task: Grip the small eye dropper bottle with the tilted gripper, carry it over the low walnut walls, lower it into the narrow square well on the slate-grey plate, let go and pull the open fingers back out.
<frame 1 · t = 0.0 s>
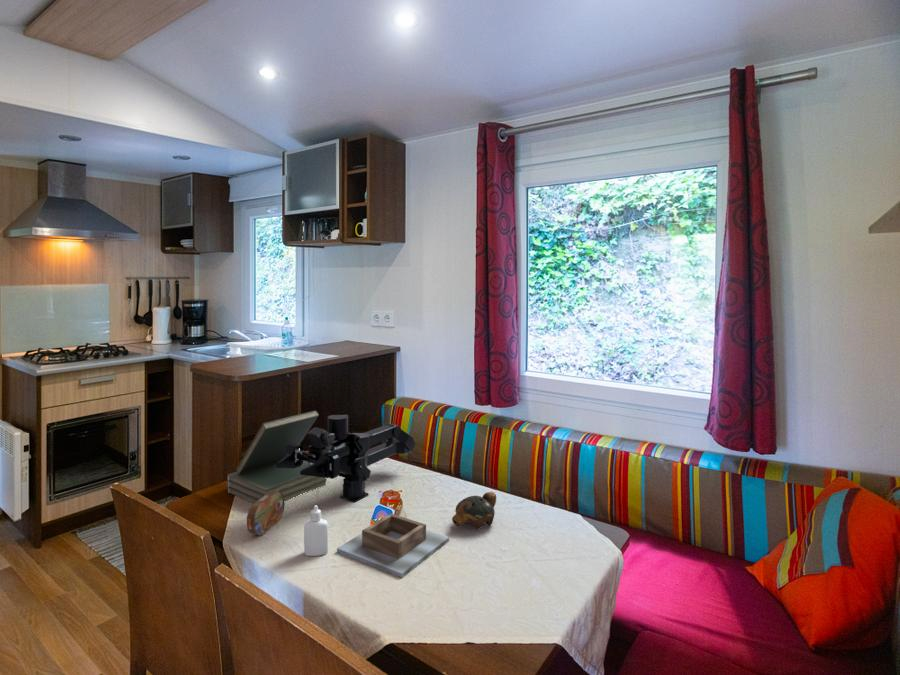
hand: (288, 469, 137), 17 cm above the table, tool horizontal, fingers open, 9 cm apart
decorative turtle: (475, 524, 143), on the table
tin: (266, 527, 140), on the table
eye dropper bottle: (316, 553, 127), on the table
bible: (278, 490, 165), on the table
well: (394, 546, 131), on the table
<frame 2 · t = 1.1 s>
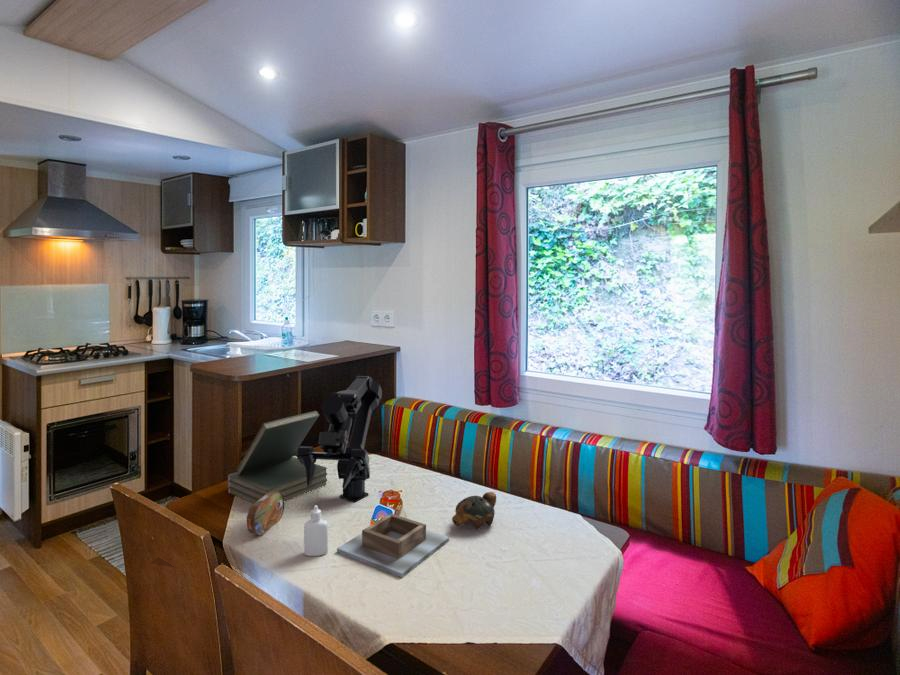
hand: (325, 487, 133), 14 cm above the table, tool tilted 45°, fingers open, 9 cm apart
nothing on the table moved.
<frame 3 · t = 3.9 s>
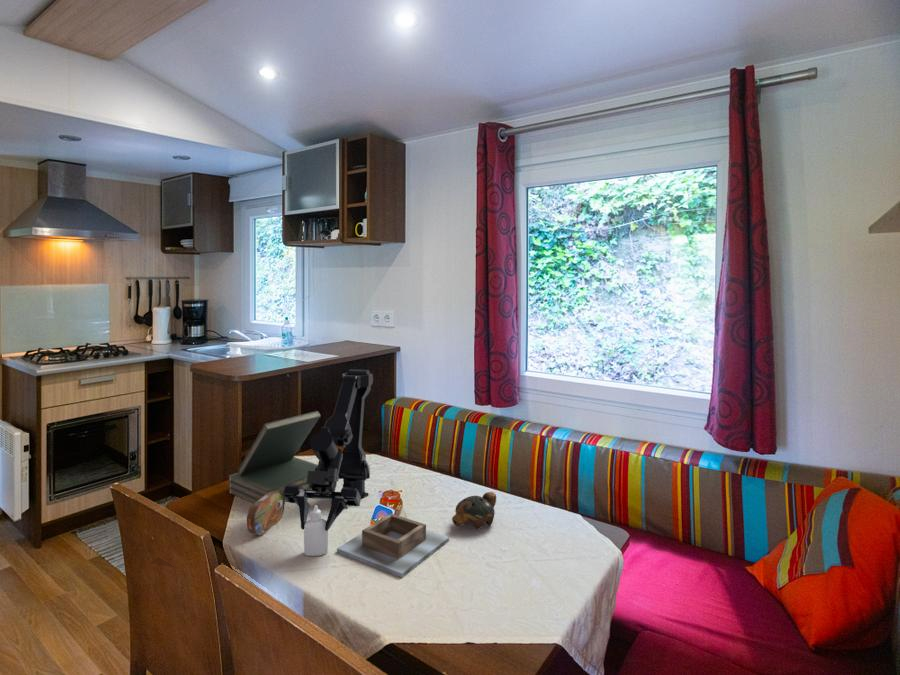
hand: (314, 529, 125), 7 cm above the table, tool tilted 45°, fingers closed on eye dropper bottle, 6 cm apart
eye dropper bottle: (316, 553, 127), on the table, touching gripper
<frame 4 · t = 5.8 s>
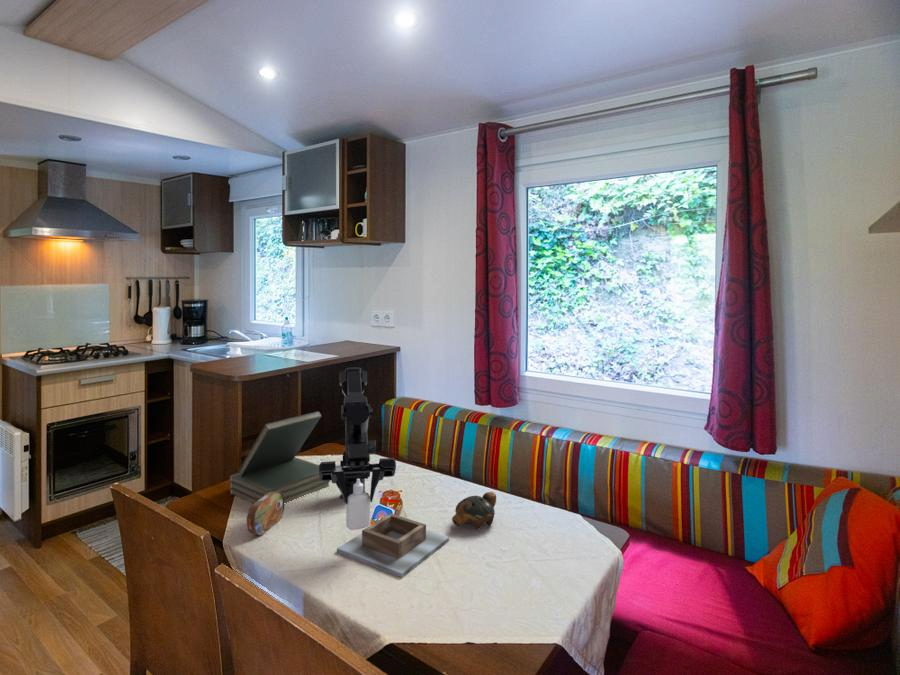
hand: (358, 502, 125), 13 cm above the table, tool tilted 45°, fingers closed on eye dropper bottle, 6 cm apart
eye dropper bottle: (358, 527, 127), point 6 cm above the table, touching gripper
when the fingers open (8 cm above the table, at t = 7.9 s): eye dropper bottle stays where it is, resting on well.
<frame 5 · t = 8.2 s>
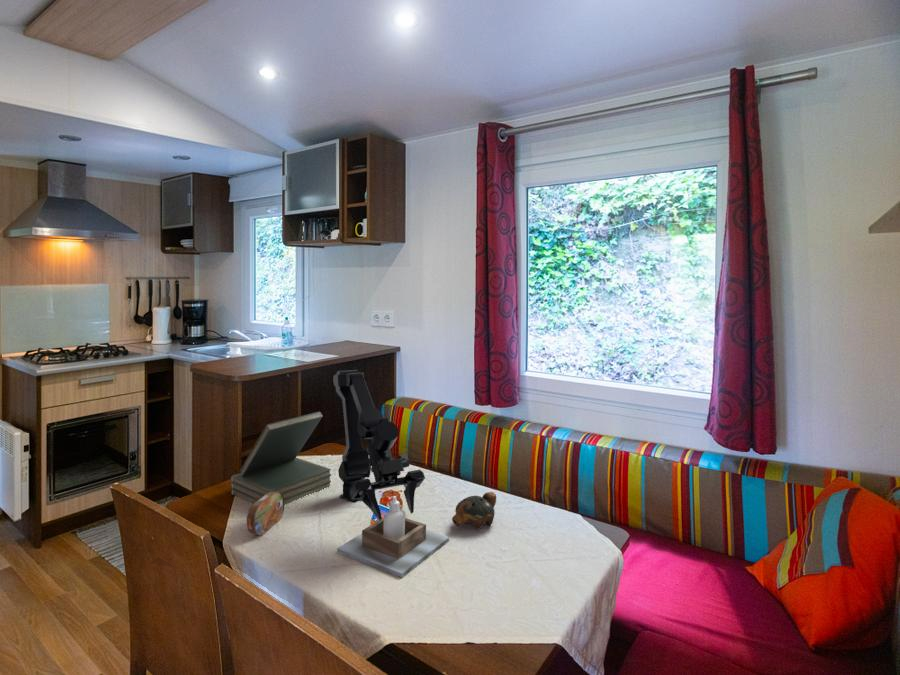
hand: (396, 516, 128), 9 cm above the table, tool tilted 45°, fingers open, 8 cm apart
eye dropper bottle: (394, 543, 131), point 1 cm above the table, touching well
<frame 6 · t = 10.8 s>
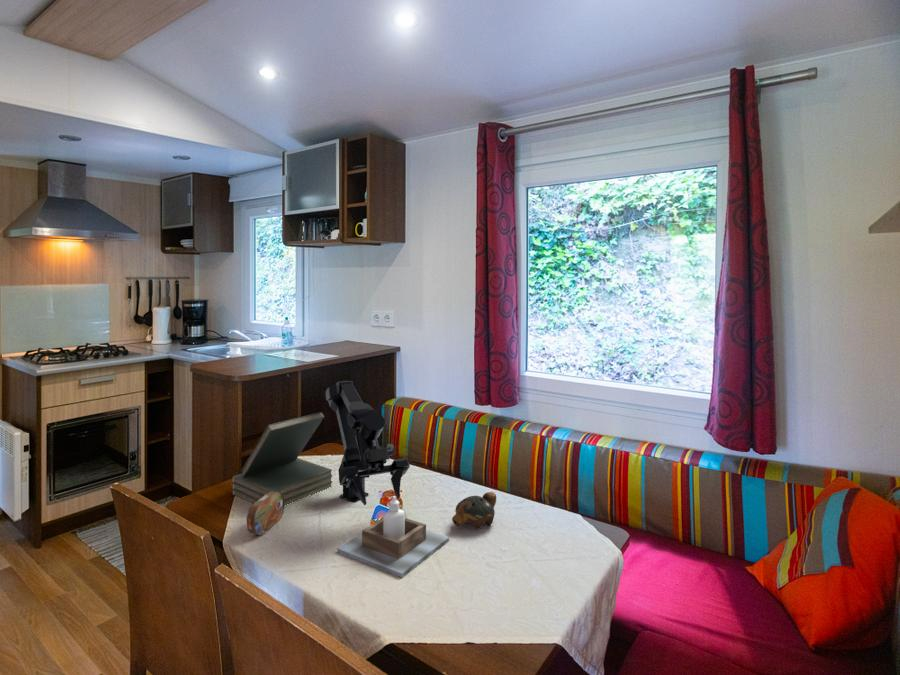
hand: (382, 501, 137), 9 cm above the table, tool tilted 45°, fingers open, 9 cm apart
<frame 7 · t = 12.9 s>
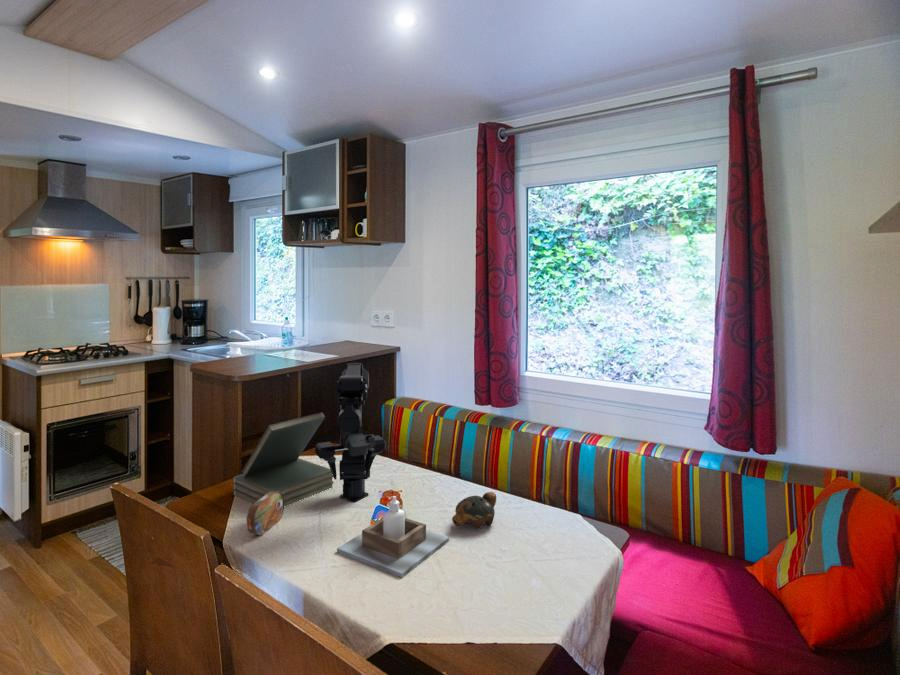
hand: (351, 476, 145), 12 cm above the table, tool pointing down, fingers open, 9 cm apart
at the end: eye dropper bottle inside the target area on the well (0.1 cm from its centre), point 0.8 cm above the well's base; eye dropper bottle tilted 0°; the gripper is holding nothing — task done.
